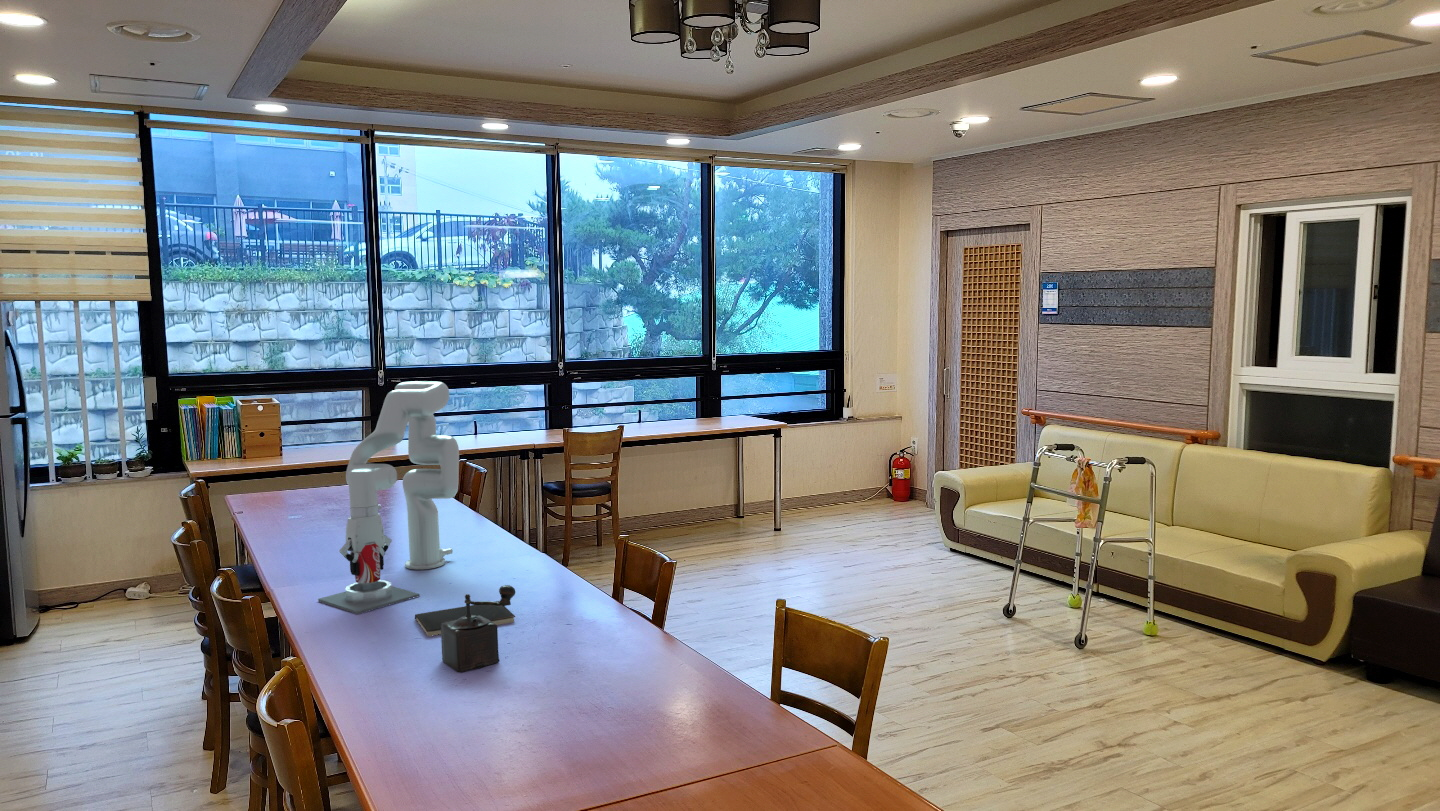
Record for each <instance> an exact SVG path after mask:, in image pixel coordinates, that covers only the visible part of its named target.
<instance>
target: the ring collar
mask: <svg viewBox="0 0 1440 811" xmlns="http://www.w3.org/2000/svg"><path fill="white" fill-rule="evenodd" d="M391 586H392V582H391V581H387V580H383V579H380V580H379V581H377V583H375V584H371V585H360V584H359V583H357V582H353V583H350V584H349V585H347V586H345V592H346V601H349V602H352V603H368V602H376V601H380V600H383V599H387V598H388V597H390V596H391V595H392V587H391Z"/></svg>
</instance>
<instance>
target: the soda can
mask: <svg viewBox="0 0 1440 811" xmlns="http://www.w3.org/2000/svg"><path fill="white" fill-rule="evenodd" d="M354 554H355V553H354ZM357 562H359V576H355V575H354V579H355V583H359V584H360V585H371V584H375V583H377V581H379V580H381V570H380V553H379V546H378V545H377V544H376V542H374V543H370V544H365V547H364V548H363V549H362V551H361V552H360V553H359V556H358V559H357Z"/></svg>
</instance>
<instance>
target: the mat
mask: <svg viewBox="0 0 1440 811" xmlns="http://www.w3.org/2000/svg"><path fill="white" fill-rule="evenodd" d="M391 587H392V595H391V596H390V597H388V598H387V599H383V600H380V601H376V602H368V603H352V602H349V601H346V591H343V592H339V593H335V594H332V595H328V596H323V597H320V598H318V601H319V603H321V602H322V603H321V604H324V603H325V605H329V606H331V607H334V608H337V609H339V610H340V609H341V610H343V611H346V612H349V611H350V612H349V613H352V612H353V613H352V614H355V613H356V614H355V615H360V614H363V613H362V612H364V613H367V612H370V611H369V610H371V611H373V610H372V609H374V610H377V609H376V608H378V609H380V608H379V607H381V608H384V607H383V606H385V607H387V606H386V605H388V606H390V605H389V604H392V605H394V604H393V603H395V604H397V603H396V602H398V603H401V602H400V601H402V602H404V601H403V600H405V601H408V600H407V599H409V598H412V599H414V598H413V597H416V598H418V597H417V596H419V597H420V593H417V592H414V591H412V590H411V591H410V590H407V589H403V588H400V587H397V586H393V585H391ZM409 600H410V599H409ZM366 611H367V612H366ZM359 613H360V614H359Z"/></svg>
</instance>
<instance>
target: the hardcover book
mask: <svg viewBox="0 0 1440 811" xmlns="http://www.w3.org/2000/svg"><path fill="white" fill-rule="evenodd" d="M494 602H498V603H499V602H500V600H496V601H494ZM470 613H471V615H476V616H479V615H480V616H482V617H484V618H486V619H488V620H490V621H491V622H493V623H495V624H496V625H497V626H500V625H505V624H510V623H511V624H512V623H515V618H516V616H515V614H513V612H512V611H511V610H509V609H508V608H507V607H506V606H504V607H503V606H495V605H473V604H470ZM463 616H466V605H465V606H459V607H452V608H445V609H440V610H434V611H428V612H422V613H415V615H414V620H415V619H416V620H415V621H416V622H417V621H418V622H417V623H418V624H420V625H421V626H420V625H419V626H420V627H421V629H422V628H423V629H422V630H423V632H424V633H425V632H426V633H425V634H426V636H427V637H428V636H430V637H433V636H432V635H436V636H439V635H438V634H441V623H446V622H450V621H455V620H458V619H459V618H461V617H463Z"/></svg>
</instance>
